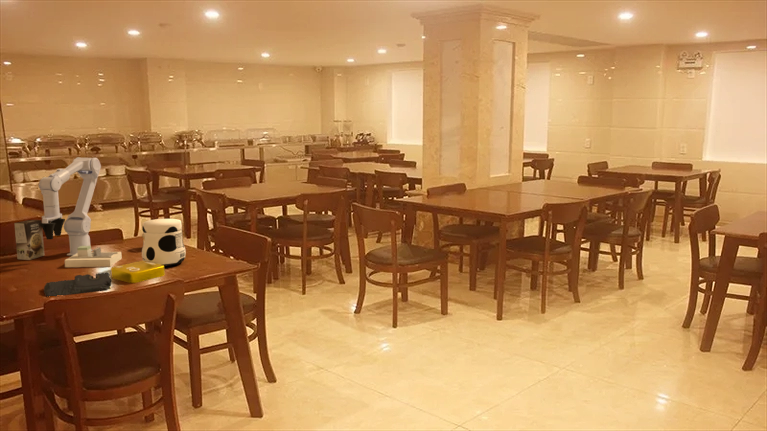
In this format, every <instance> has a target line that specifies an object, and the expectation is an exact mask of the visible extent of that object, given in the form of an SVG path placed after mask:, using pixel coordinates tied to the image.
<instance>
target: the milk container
mask: <svg viewBox="0 0 767 431" xmlns="http://www.w3.org/2000/svg"><path fill="white" fill-rule="evenodd" d="M142 233H143V237H142V240H143V241H142V242H143V244H142V248H141V258H142V261H147V262H152V263H156V264H161V265H164V267H168V266H169V267H170V266H174V265H178V264H181V263H182V262H184V260H185V259H186V251H187V250H186V247H185V244H184V239H183V224H182V220H181V219H178V218H177V219H176V218H156V219H149V220H146V221H143V222H142Z"/></svg>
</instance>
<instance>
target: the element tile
mask: <svg viewBox="0 0 767 431" xmlns="http://www.w3.org/2000/svg"><path fill="white" fill-rule="evenodd" d="M110 272H111V279H113V280H116V281H121V282H125V283H128V284H138V283H141V282H144V281H149V280H153V279H157V278H161V277H164V276H165V275H166V274H165V272H166V271H165V266H164V265H161V264H156V263H152V262H147V261H143V260H139V261H134V262H129V263H126V264H121V265H115V266H111V268H110Z"/></svg>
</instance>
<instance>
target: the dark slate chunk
mask: <svg viewBox="0 0 767 431" xmlns="http://www.w3.org/2000/svg"><path fill="white" fill-rule="evenodd" d="M110 276H111V275H110V273H109V272H101V273H95V277H94V276H93V275H91V274H89V273H87V274H84V275H82V274H77V275H75V276H74V279H68V280H65V279H64V280H58V281H49V282H46V283H45V285H44V286H43V293H44V296H45V297H47V296H48V297H47V298H50V297H49V296H55V297H58V296H57V295H63V296H71V295H80V294H88V293H95V292H96V293H97V292H103V291H106V292H107V291H108V290H111V287H112V277H110Z"/></svg>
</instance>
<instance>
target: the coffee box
mask: <svg viewBox="0 0 767 431" xmlns="http://www.w3.org/2000/svg"><path fill="white" fill-rule="evenodd" d="M40 223H42V219H27V220H23V221H22V220H21V221H18V222H14V223H13V224H14V233H15V234H14V235H15V236H14V237H15V244H16V247H15V248H16V257H17V260H23V261H24V260H25V261H31V260H34V259H37V258H40V257H44V256H45V245H44V244H45V243H44V236H43V233H44V232H43V228H42V227H41V226H40Z"/></svg>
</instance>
